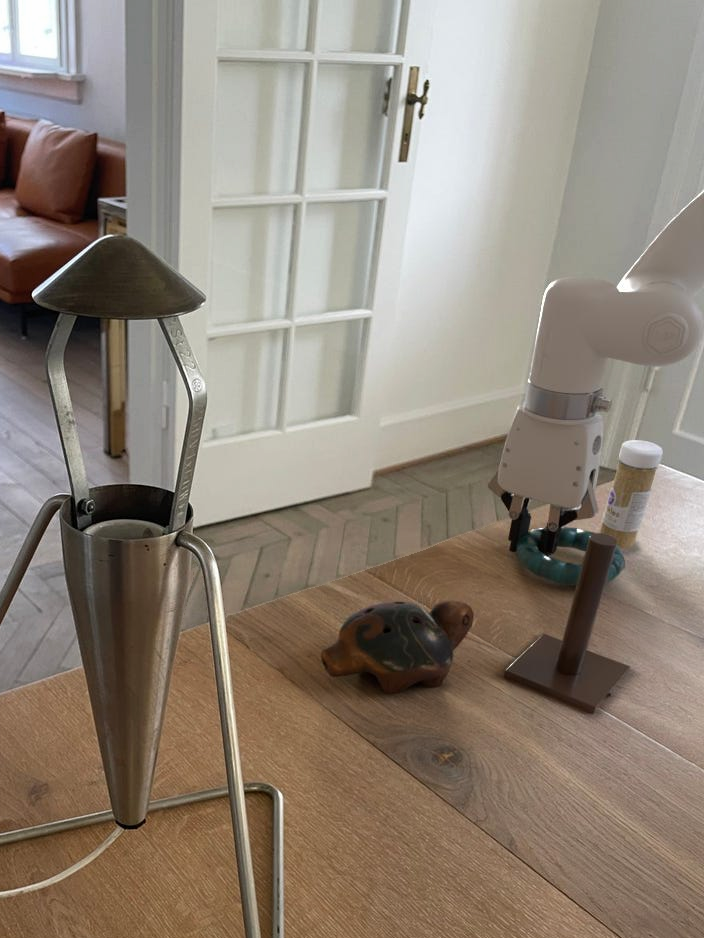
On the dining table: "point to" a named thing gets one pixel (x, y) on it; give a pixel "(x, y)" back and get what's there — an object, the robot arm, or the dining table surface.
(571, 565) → the ring
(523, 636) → the dining table surface
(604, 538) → the post
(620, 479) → the sprinkles bottle
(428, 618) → the decorative turtle
